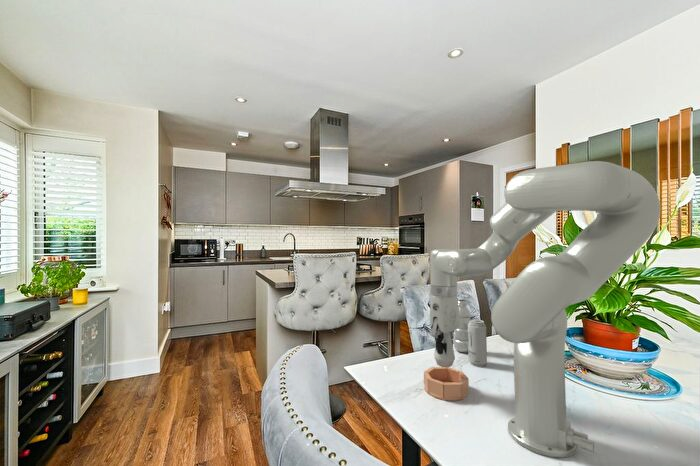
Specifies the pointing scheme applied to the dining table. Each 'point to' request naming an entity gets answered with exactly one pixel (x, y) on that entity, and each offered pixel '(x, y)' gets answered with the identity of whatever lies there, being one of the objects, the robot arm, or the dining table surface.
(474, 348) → the energy drink can
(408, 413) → the dining table surface
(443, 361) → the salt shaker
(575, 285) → the robot arm
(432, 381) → the octagonal orange bowl
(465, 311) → the plastic bottle
